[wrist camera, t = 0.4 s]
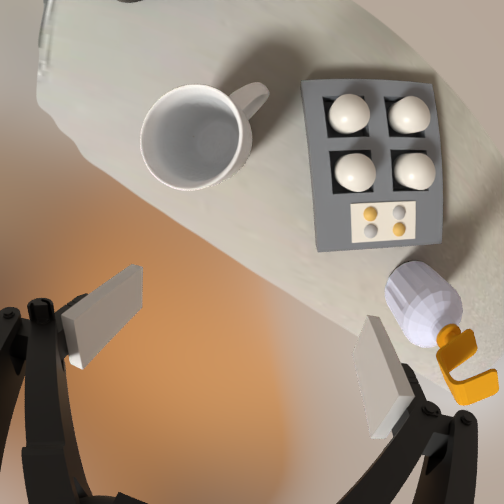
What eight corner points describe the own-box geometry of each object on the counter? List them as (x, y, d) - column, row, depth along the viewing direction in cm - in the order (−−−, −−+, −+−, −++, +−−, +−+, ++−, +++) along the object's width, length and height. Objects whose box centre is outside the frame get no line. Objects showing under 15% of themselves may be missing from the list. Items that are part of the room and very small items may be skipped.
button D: (390, 153, 34) (402, 152, 29) (420, 153, 33) (434, 153, 29) (393, 186, 35) (405, 190, 31) (421, 186, 34) (436, 189, 30)
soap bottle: (441, 292, 41) (521, 386, 17) (396, 322, 43) (452, 436, 20) (422, 248, 39) (518, 332, 16) (374, 281, 42) (436, 393, 18)
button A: (325, 102, 33) (329, 94, 29) (359, 101, 32) (367, 94, 28) (329, 134, 34) (334, 131, 30) (363, 134, 33) (372, 130, 29)
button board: (300, 88, 35) (301, 79, 31) (420, 89, 32) (433, 83, 28) (315, 243, 41) (318, 253, 37) (430, 236, 38) (442, 244, 34)
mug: (242, 72, 35) (221, 37, 23) (297, 126, 37) (300, 109, 24) (168, 144, 40) (120, 140, 27) (218, 198, 41) (186, 214, 29)
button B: (384, 101, 32) (395, 95, 27) (414, 103, 31) (427, 97, 27) (388, 133, 33) (400, 130, 29) (418, 134, 32) (432, 132, 28)
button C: (331, 155, 35) (337, 153, 31) (365, 153, 34) (374, 152, 30) (334, 189, 36) (340, 192, 32) (367, 187, 35) (377, 191, 31)
